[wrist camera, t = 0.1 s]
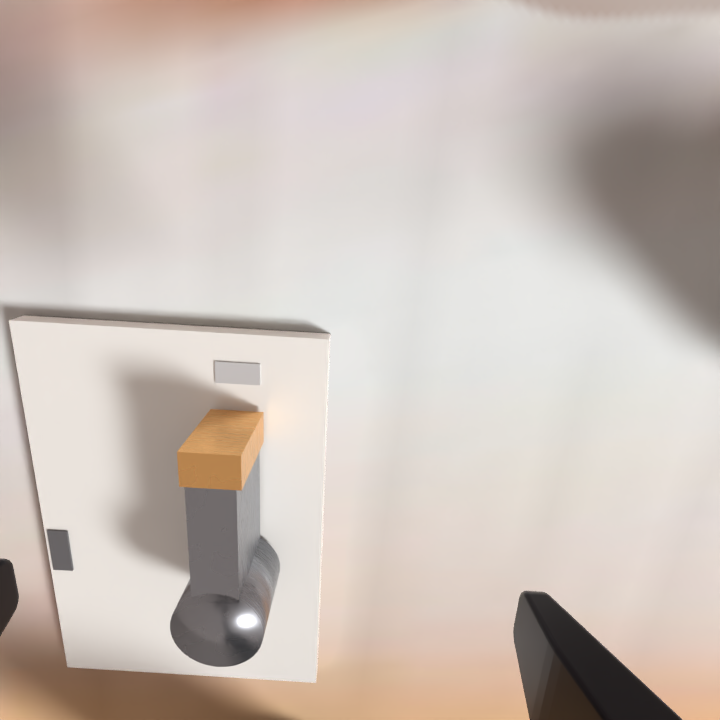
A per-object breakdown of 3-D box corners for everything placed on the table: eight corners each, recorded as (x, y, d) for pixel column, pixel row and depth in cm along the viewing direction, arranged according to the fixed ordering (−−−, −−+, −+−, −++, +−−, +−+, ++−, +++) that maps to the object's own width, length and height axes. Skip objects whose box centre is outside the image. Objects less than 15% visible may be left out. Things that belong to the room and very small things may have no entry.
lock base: (317, 666, 28) (315, 684, 27) (77, 651, 28) (66, 668, 27) (330, 333, 22) (328, 339, 21) (24, 315, 22) (7, 320, 21)
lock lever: (279, 599, 25) (263, 669, 21) (202, 594, 25) (172, 663, 21) (281, 413, 22) (262, 456, 18) (192, 408, 22) (155, 450, 18)
